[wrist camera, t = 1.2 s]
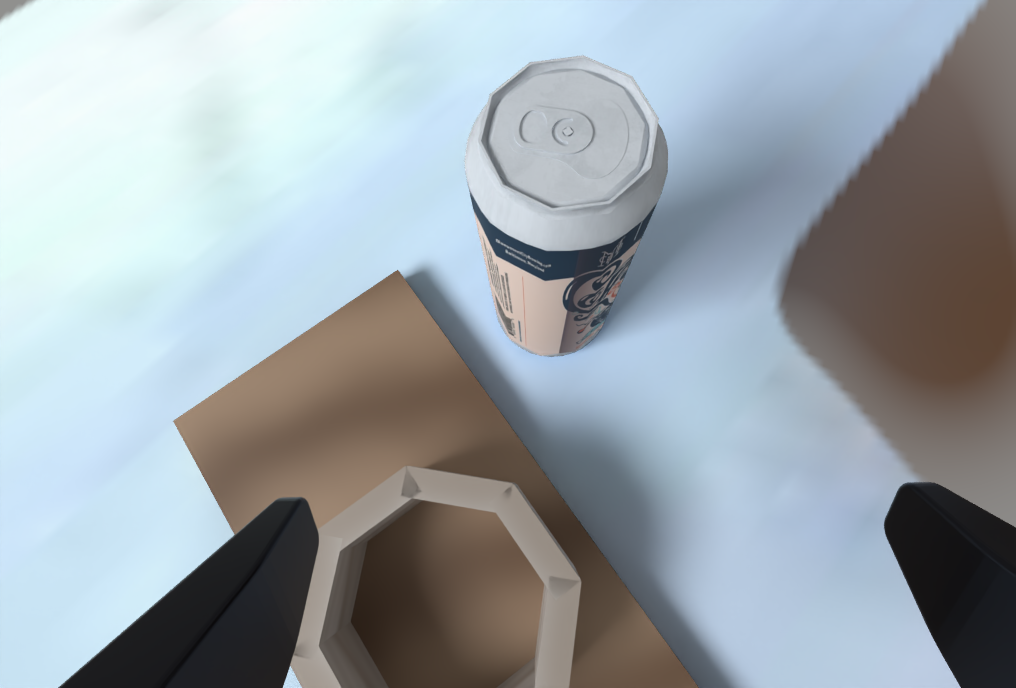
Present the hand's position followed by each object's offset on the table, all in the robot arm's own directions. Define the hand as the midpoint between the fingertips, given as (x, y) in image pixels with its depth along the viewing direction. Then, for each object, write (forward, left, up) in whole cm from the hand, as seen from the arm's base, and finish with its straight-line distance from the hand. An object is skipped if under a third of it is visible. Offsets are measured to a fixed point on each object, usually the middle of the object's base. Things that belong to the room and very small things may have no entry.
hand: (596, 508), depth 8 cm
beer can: (+6, -4, -14) cm, 16 cm away
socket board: (-1, +6, -13) cm, 15 cm away
